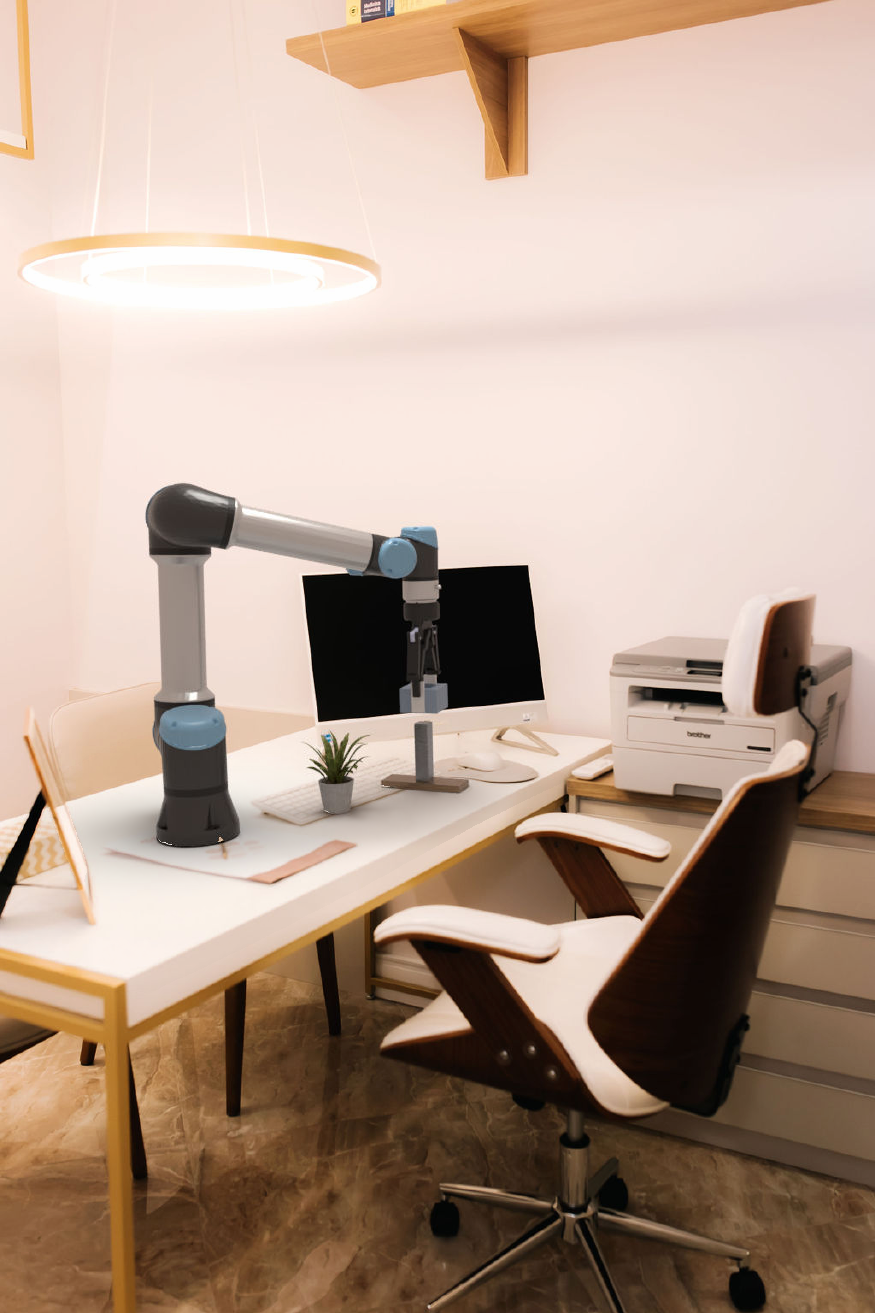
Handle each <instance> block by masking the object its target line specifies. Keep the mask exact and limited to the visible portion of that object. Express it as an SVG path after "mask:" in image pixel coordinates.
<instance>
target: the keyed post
mask: <svg viewBox="0 0 875 1313" xmlns="http://www.w3.org/2000/svg"><path fill="white" fill-rule="evenodd" d="M433 728H434V727H433V721H431V720H424V721H421V720H420V721H417V722H415V723H414V724H413V729H414V730H413V731H414V763H415V775H414V774H413V775H410V774H397V773H390V774H389V775H388V776H386V777H385V778H382V779H381V780H380V786H381V785H384V786H390V787H396V788H395V789H400V790H411V791H412V790H413V791H414V790H415V791H425V792H427V791H428V792H439V793H440V792H441V793H456V794H460V793H462V792H463V791H465V790H466V789H467V788H469V786H470V779H467V778H453V777H440V776H435V774H434V770H435V768H434V767H435V766H434V765H435V764H434V734H433V731H434V730H433Z"/></svg>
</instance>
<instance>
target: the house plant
mask: <svg viewBox="0 0 875 1313" xmlns="http://www.w3.org/2000/svg"><path fill="white" fill-rule="evenodd" d="M328 731H329V732H327V733H329V735H330V738H331V742H332V745H331V743H330V742H329V741H328V739H327V738H326V737H325V735H322V734H321V735H320V738H321V741H322V744H323V748H324V754H325V756H324V755H323V753H322V752H321V751H320V750H319V748H316V749H315V748H314V747H313V746H312V745H310V744H309V743H307V742H304V741H302V743H303V744H305V745H307V746H309V747H310V748H311V749H313V751H315V753H316V754H317V756H318V757H319V758H320V759H321V761H322V762H323V763H324V765H325V766H326V767H325V766H324V765H323V764H322V763H321V762H319V761H317V760H315V759H312V758H309V760H310V761H311V762H312V763H313V764H314V765H315V766H316V767H315V766H307V767H306V768H305V769H310V770H313V771H315V772H318V773H319V774H320V775H321V776H322V778H320V779H318V781H317V782H318V788H319V793H320V797H321V802H322V806H323V811H324V810H326V811H328V812H329V813H330V815H341V814H346V813H349V812H350V811H351V807H352V806H351V804H352V797H353V790H354V781H355V779H354V777H352V776H348V775H349V774H354V771H353V769H355V770H356V771H357V769H358V767H359V765H358V763H359V762H361V763H362V764H364V763H363V761H362V760H363V759H364V758H369V757H370V755H367V756H362V757H360V758H359V759H353V757H354V755H355V753H356V752H357V751H358V750H359V749H361V748H362V747H364V746H366V745H367V743H364V742H359V741H360V740H362V739H363V738H365V737H366V738H367V737H370V736H371V734H367V735H366V734H365V735H363V736H360V737H358V738H356V740H354V741H353V742H352V743H351V744H350V746H349V747H348V750H347V751H346V749H347V746H348V742H349V736H350V732H347V733H346V734H345V736H343V740H341V741H340V743H339V745H338V740H337V738H336V736H335V735H334V733H333V732H332V731H331V729H329V730H328ZM358 744H359V745H358ZM355 745H358V747H356V748H355V749H354V750H353V752H352V749H353V748H354V746H355ZM333 750H334V751H333ZM350 752H352V754H351V755H350V757H349V759H348V760H347V758H348V756H349V754H350ZM346 760H347V762H345V761H346ZM353 762H354V763H353ZM344 763H345V764H344ZM351 763H353V765H351V766H350V764H351ZM317 767H319V768H317ZM325 775H326V776H325Z"/></svg>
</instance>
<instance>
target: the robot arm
mask: <svg viewBox="0 0 875 1313" xmlns="http://www.w3.org/2000/svg"><path fill="white" fill-rule="evenodd" d="M144 519H145V524H146V527H147V529H148V555H149V558H151V560H153V561H154V562H155V563H156V565H157V579H158V581H157V582H158V583H157V586H158V611H159V612H158V614H159V616H158V618H159V639H160V640H159V644H160V648H159V649H160V650H159V651H160V672H161V673H160V675H161V676H160V677H161V680H160V682H161V687H160V690H158V692H157V693H156V694H155V695H154V696H153V706H154V707H153V712H154V714H153V716H154V720H153V725H152V729H151V730H152V738H153V742H154V746H156V748H157V750H158V752H159V754H160V756H161V766H162V783H163V800H162V804H161V808H160V811H159V815H158V819H157V823H156V828H155V831H156V832H155V833H156V839H157V838H158V839H159V840H160V841H161V842H166V843H168V844H172V845H177V846H176V847H181V846H191V847H200V846H201V847H202V845H204V846H210V845H215V844H219V843H218V841H219V837H221V838H222V839H223V840H224V842H226V841H229V840H233V838H236V837H237V836H238V835H239V834H241V825H240V824H241V822H240V818H239V815H238V812H237V809H236V808H235V805H234V803H233V799H232V797H231V794H230V791H229V777H228V775H229V774H228V756H227V739H226V738H227V736H226V735H227V725H226V724H227V723H226V722H225V720H226V719H225V715H224V713H223V712H222V711H221V710H219V709H218V708H216V694H215V693H213V692H212V691H211V689H209V688H208V686H207V685H208V683H207V682H208V681H207V677H208V676H207V650H206V649H207V648H206V647H207V646H206V645H207V642H206V641H207V640H206V612H205V611H206V610H205V608H206V605H205V569H204V568H205V567H204V565H205V563H206V562H207V561H208V560H210V558H212V548H215V549H219V550H226V551H227V550H228V549H230V548H232V547H238V548H243V549H249V550H253V551H258V552H264V553H269V554H273V555H278V556H283V557H289V558H293V559H299V560H304V561H308V562H314V563H319V564H323V565H328V566H333V567H338V568H344V569H345V570H346V572H347V573H348V574H349V575H350V576H361V577H365V576H380V577H386V578H390V579H400V578H401V579H402V599H403V601H405V602H404V603H403V604H402V605H403V618H404V620H405V621H408V622H412V625H411V630H410V631H407V632H406V641H407V644H406V645H407V647H406V649H407V653H406V678H405V680H406V682H410V683H411V705H412V713H411V714H426V713H425V691H424V690H425V689H424V683H438V682H437V681H438V680H437V677H438V675H440V674H441V669H440V658H439V645H438V625H437V624H434V625H433V621H437V620H440V619H441V618H440V617H441V614H440V609H441V608H440V607H441V606H440V602H439V601H438V599H439V598H440V590H441V589H442V586H441V584H439V583H440V582H439V542H438V534H437V533H438V532H437V530H436V528H435V527H433V526H429V525H428V526H405V527H402V528H401V529H400V534H399V536H394V537H390V536H385V535H380V534H377V533H371V532H367V531H363V530H358V529H355V528H354V529H353V528H350V527H344V526H340V525H335V524H331V523H326V522H321V521H317V520H312V519H308V518H303V517H299V516H293V515H290V514H284V513H281V512H275V511H270V510H267V509H262V508H257V507H252V506H248V505H243V504H241V503H240V501H239V500H238V498H236V497H233V496H229V495H225V494H221V493H218V492H214V491H212V490H208V489H206V488H204V487H202V486H198V485H196V484H192V483H186V482H180V483H179V482H177V483H174V484H170V485H167V486H164V487H162V488H160V489H159V490H157V491H156V492H155V493H154V494H153V495H152V496H151V498H150V500H149V501H148V503H147V506H146V508H145V516H144ZM424 673H425V674H424Z"/></svg>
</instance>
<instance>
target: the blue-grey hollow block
mask: <svg viewBox="0 0 875 1313" xmlns="http://www.w3.org/2000/svg"><path fill="white" fill-rule="evenodd" d="M424 689H425V690H424V691H425V713H424V714H436V715H437V714H439V713H441V712H442V711H443V710H445V709H447V708H448V707H449V706H448V705H449V703H448V702H449V700H448V699H449V698H448V683H439V682H437V683H424ZM399 706H400V707H399V712H400V714H401V713H404V714H413V713H412V705H411V682H410V683H408V684H406V685H404V686H401V688H399Z"/></svg>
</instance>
